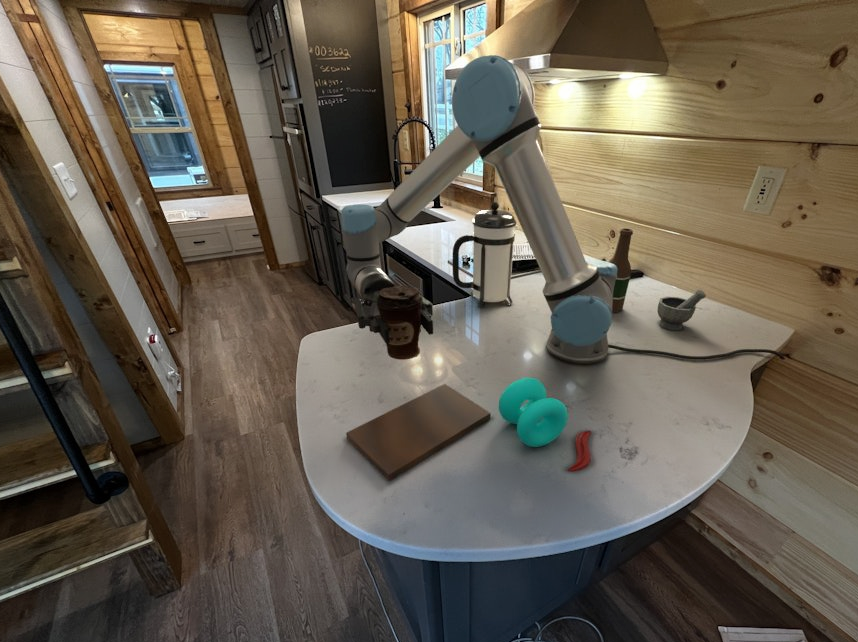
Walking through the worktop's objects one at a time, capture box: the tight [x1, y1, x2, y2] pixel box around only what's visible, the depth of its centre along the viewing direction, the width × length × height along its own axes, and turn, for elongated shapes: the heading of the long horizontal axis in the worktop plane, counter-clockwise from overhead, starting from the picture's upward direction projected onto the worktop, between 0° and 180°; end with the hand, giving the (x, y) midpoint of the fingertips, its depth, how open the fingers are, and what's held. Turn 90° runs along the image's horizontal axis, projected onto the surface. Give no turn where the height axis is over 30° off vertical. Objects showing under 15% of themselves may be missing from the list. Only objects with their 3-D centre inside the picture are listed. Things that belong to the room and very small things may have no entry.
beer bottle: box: [608, 227, 634, 314], centre depth 121 cm, size 8×8×24 cm
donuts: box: [498, 377, 569, 448], centre depth 75 cm, size 10×10×10 cm
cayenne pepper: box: [566, 430, 592, 472], centre depth 73 cm, size 12×5×2 cm, turn 142°
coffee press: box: [452, 201, 520, 309], centre depth 123 cm, size 17×16×30 cm
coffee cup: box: [377, 285, 424, 361], centre depth 77 cm, size 9×8×13 cm
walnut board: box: [345, 383, 491, 481], centre depth 77 cm, size 24×14×2 cm, turn 133°
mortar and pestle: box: [657, 289, 707, 331], centre depth 114 cm, size 11×9×12 cm
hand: (409, 331), depth 73 cm, fingers closed on coffee cup, 8 cm apart
